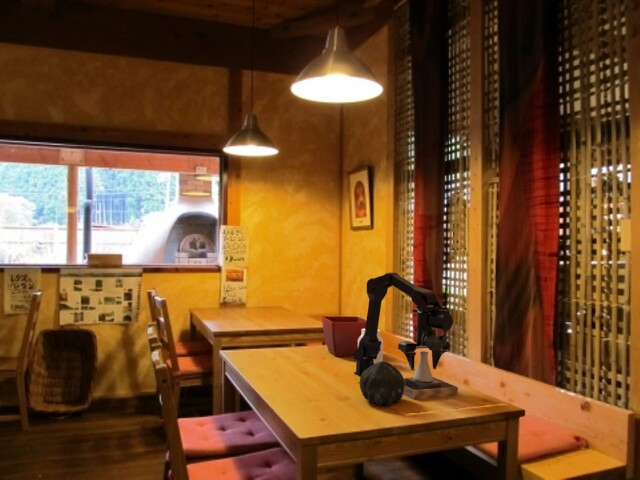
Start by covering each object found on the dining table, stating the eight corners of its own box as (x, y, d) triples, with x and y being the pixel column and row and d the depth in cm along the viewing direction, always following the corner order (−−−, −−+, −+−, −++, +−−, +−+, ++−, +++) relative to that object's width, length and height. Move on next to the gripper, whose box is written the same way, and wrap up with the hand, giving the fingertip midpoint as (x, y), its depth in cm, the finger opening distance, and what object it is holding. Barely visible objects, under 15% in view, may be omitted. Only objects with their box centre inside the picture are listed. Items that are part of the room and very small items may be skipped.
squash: (379, 376, 190) (366, 349, 183) (417, 386, 181) (404, 358, 173) (361, 409, 182) (345, 382, 174) (399, 421, 173) (384, 393, 165)
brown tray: (413, 401, 180) (413, 390, 180) (389, 389, 195) (390, 379, 195) (457, 397, 187) (457, 387, 187) (431, 385, 202) (431, 376, 202)
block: (419, 395, 185) (419, 384, 185) (405, 388, 194) (405, 377, 194) (440, 393, 189) (441, 382, 189) (426, 387, 197) (426, 376, 197)
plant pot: (370, 357, 250) (371, 321, 250) (331, 358, 245) (332, 322, 245) (356, 349, 268) (357, 316, 269) (320, 350, 263) (321, 316, 264)
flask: (434, 378, 194) (435, 351, 194) (432, 383, 187) (433, 354, 187) (414, 376, 196) (415, 349, 196) (411, 381, 189) (412, 353, 189)
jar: (385, 365, 233) (386, 331, 234) (365, 367, 230) (366, 332, 230) (373, 360, 244) (374, 327, 244) (354, 361, 241) (355, 328, 241)
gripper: (414, 330, 180) (413, 376, 180) (460, 328, 188) (459, 373, 187) (397, 325, 191) (396, 369, 191) (441, 324, 198) (440, 366, 198)
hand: (423, 369), depth 191 cm, fingers open, 9 cm apart
